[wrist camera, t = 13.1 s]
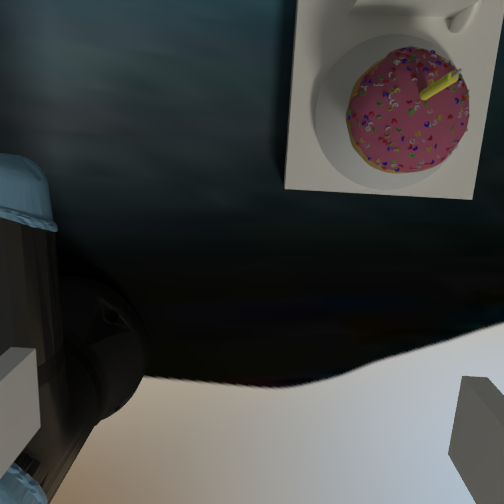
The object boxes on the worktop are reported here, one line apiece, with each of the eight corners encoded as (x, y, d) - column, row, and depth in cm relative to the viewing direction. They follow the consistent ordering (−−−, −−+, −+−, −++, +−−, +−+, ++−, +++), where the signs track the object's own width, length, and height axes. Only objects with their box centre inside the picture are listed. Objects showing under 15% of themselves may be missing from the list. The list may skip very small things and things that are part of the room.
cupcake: (356, 46, 37) (398, 6, 25) (460, 74, 37) (550, 47, 25) (325, 155, 39) (350, 165, 27) (424, 181, 39) (491, 201, 27)
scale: (283, 184, 43) (287, 196, 36) (299, -38, 39) (307, -80, 31) (458, 195, 43) (500, 208, 35) (494, -28, 39) (551, -68, 31)
